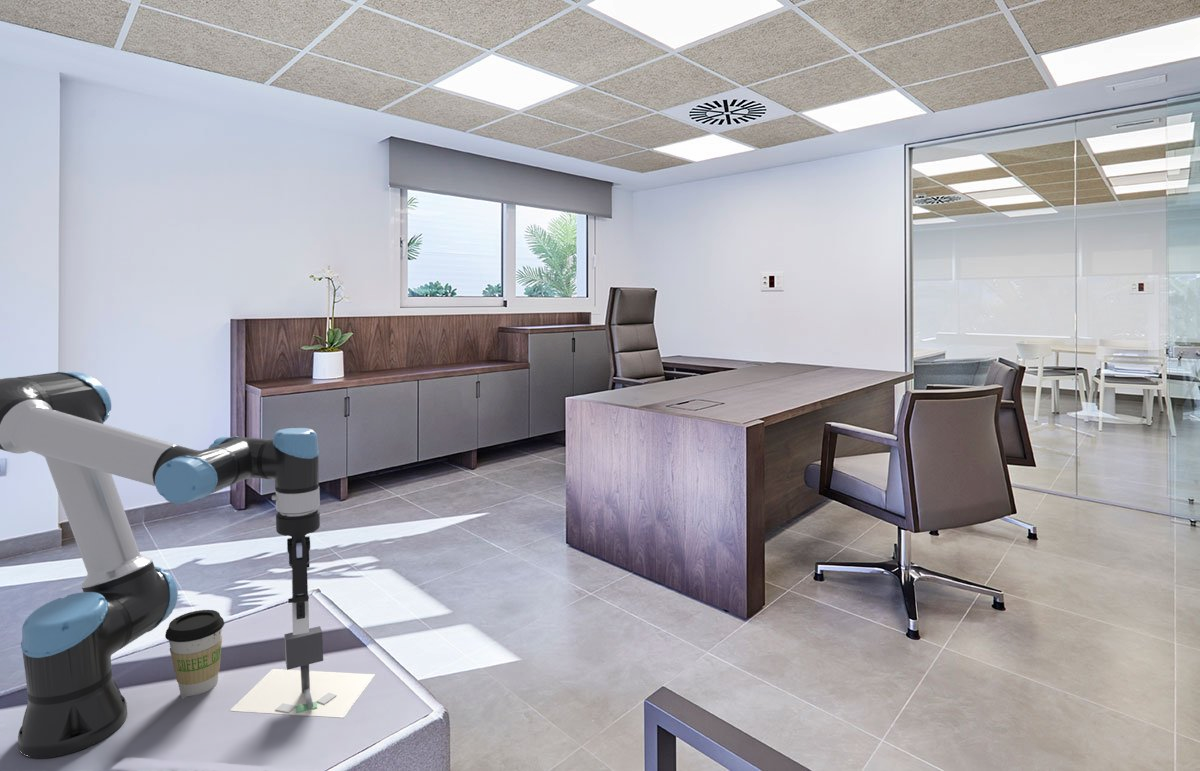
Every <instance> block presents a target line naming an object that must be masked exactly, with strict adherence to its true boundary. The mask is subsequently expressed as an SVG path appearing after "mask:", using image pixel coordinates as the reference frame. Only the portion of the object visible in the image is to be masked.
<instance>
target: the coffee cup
mask: <svg viewBox="0 0 1200 771" xmlns="http://www.w3.org/2000/svg"><path fill="white" fill-rule="evenodd" d="M224 626H225V621H224V618H223V617H222V616H221V614H220V612H219V611H217V610H214V609H201V610H194V611H190V612H187V613H186V612H185V613H183V614H181V615H178V616H176V617H175V618H174V619H172V620H171V621H170V622H169V624H168V627H167V629H166V631H165V635H164V636H165V639H166V640H168V643H169V651H170V656H171V661H172V666H173V669H174V674H175V679H176V682H177V685H178V687H179V688H178V689H179V693H180V698H181V699H182V700H185V698H187V697H189V696H197V695H202V694H205V693H207V692H208V691H211V690H212V689H214V688H215V687H216V686H217V685H218V682H219V672H220V668H221V654H222V642H223V636H222V629H223V628H224Z"/></svg>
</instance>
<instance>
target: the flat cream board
mask: <svg viewBox="0 0 1200 771" xmlns="http://www.w3.org/2000/svg"><path fill="white" fill-rule="evenodd" d="M375 676H376V674H375V673H373V674H372V673H356V672H355V673H353V672H340V671H339V672H338V671H337V672H335V671H320V670H319V671H318V670H317V671H316V670H309V677H310V694H311V698H312V702H313V708H309V709H308V707H307V703H306V698H305V694H304V693H302V688H301V669H289V670H287V669H284V668H283V669H282V668H281V669H280V668H272V669H271V670H270V671H269V672H267V674H266V675H265V676H264V677H262V678H261V679H260V680H259V681H258V682H257V683H256V684H255V685H254V686H253V687H252V688H251V689H250V690H249V691H248V692H247V693H246V694H245V695H244V696H242V698H241V699H240V700H239V701H238V702H237V703H236V704H235V705H233V707H231V709H230V710H229V712H238V713H239V712H240V713H253V714H257V713H258V714H272V715H275V714H276V715H288V716H289V715H291V716H292V715H293V716H308V717H324V718H340V719H344V717H345V716H346V715H347V714H348V712H349V711H350V710H351V708H353V706H354V704H355V703H356V702H357V701H358V699H359V697H360V696H361V695H362V693H363V692H364V691H365V689H366V688H367V686H368V685H369V684H370V683H371V681H372V680H373V679H374V677H375Z"/></svg>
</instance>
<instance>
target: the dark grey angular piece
mask: <svg viewBox="0 0 1200 771" xmlns="http://www.w3.org/2000/svg"><path fill="white" fill-rule="evenodd" d="M322 630H323V629H322V627H321V626H319V625H318V626H315V627H311V628H310V627H309V632H308V633H303V634H297V635H293V631H292V632H287V633H283V634H284V636H283V637H284V652H285V653H284V654H285V656H284V657H285V665H286V670H294V669H298V668H300V670H301V688H302V693H304V694H305V698H306V703H307V707H308V709H309V708H313V702H312V698H311V694H310V677H309V671H310V665H313V664H315V663H316V664H317V663H320V662H324V648H323V647H324V646H323V645H324V644H323V631H322Z"/></svg>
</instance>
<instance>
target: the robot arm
mask: <svg viewBox="0 0 1200 771" xmlns="http://www.w3.org/2000/svg"><path fill="white" fill-rule="evenodd" d="M110 411H112V398H111V396H110V394H109V392H108V390H107V389H106V387H105V386H104V385H103V384H102V383H101V382H100V381H99V380H97V378H94V377H93V376H90V375H89V374H87V373H83V372H77V371H67V372H66V371H57V372H49V373H43V374H42V373H41V374H33V375H27V376H26V375H25V376H18V377H17V376H16V377H6V378H5V377H4V378H0V450H2V451H6V452H9V453H12V454H20V455H21V454H26V453H28V452H32V453H35V454H37V455H40V456H42V457H43V458H44V459H45V461H46V465H47V467H48V469H49V472H50V475H51V478H52V480H53V483H54V485H55V488H56V491H57V493H58V497H59V499H60V502H61V504H62V507H63V510H64V512H65V516H66V517H67V521H68V524H69V527H70V529H71V531H72V535H73V537H74V540H75V543H76V545H77V546H76V547H77V548H78V551H79V554H80V556H81V560H82V561H83V564H84V567H85V569H86V572H87V575H86V577H85V579H84V580H83V582H82V583H81V585H80V587H81V589H82V592H76V593H71V594H68V595H67V596H65V597H62V598H61V597H58V598H56V599H52V600H51V601H49V602H47V603H45V604H43V605H42V606H40V607H38V608H36V609H35V610H34V611H32V612H31V613H30V614H29V615H28V616H27V618H26V619H25V620H24V622H23V624H22V627H21V628H22V629H21V637H22V638H21V642H20V648H21V652H22V657H23V664H24V665H23V666H24V675H25V681H26V691H27V692H26V693H27V705H26V708H25V711H24V716H23V719H22V724H21V727H20V728H19V731H18V734H17V744H18V750H20V751H21V752H22V753H23V754H25V755H28V756H30V757H29V758H31V757H37V758H36V759H48V758H56V757H61V756H65V755H69V754H73V753H77V752H79V751H81V750H84V749H86V748H88V747H91V746H93V745H95V744H98V743H99V742H101V741H103V740H104V739H106V738H108V737H109V736H111V735H112V734H114V733H115V732H116V731H117V730H118V729H119V728H121V727H122V725H123V724H124V723H125V721H126V720H127V717H128V705H127V704H128V703H127V701H126V699H125V697H124V695H122V693H121V690H120V688H119V687H118V685H117V683H116V681H115V680H114V678H113V668H112V655H113V654H116V652H118V651H120V650H122V649H123V648H125V647H126V646H128V645H129V644H131V643H132V642H134V641H136V640H137V639H139V638H141V637H143V636H144V635H145V634H147V633H149V632H151V631H153V630H154V629H156V628H157V627H158V626H160V624H161V623H163V622H164V621H166V620H167V619H168V618H169V617H170V616H171V614H172V613H173V611H174V610H175V608H176V606H177V604H178V603H177V602H178V598H179V597H178V595H179V590H178V585H177V583H176V580H175V578H174V577H173V576H172V574H171V573H169V572H166V569H164V568H162V567H159V566H155V564H154V562H153V559H152V558H150V557H146V556H144V555H142V554H141V553H140V551H139V547H138V545H137V544H138V543H137V542H136V538H135V536H134V533H133V530H132V527H131V525H130V522H129V519H128V517H127V513H126V511H125V508H124V505H123V503H122V500H121V497H120V494H119V491H118V488H117V485H116V484H115V480H114V477H113V475H115V476H117V477H121V478H123V479H124V478H125V479H129V480H131V481H135V482H139V483H143V484H145V485H146V484H147V485H150V486H153V487H155V489H156V491H157V493H158V494H159V495H160V496H162V497H163V498H164V499H165V501H166V502H168V503H172V504H176V505H184V504H188V503H190V502H195V501H196V502H197V501H200V500H202V499H204V498H206V497H208V496H210V495H212V494H214V493H216V492H219V491H221V490H223V489H225V488H228V487H230V486H233V485H235V484H237V483H240V482H243V481H245V480H247V479H260V480H261V479H262V480H274V489H275V494H273V495H272V496H271V500H272V501H275V510H276V511H277V513H276V514H275V526H276V527H275V531H276V533H278V535H282V536H284V537H285V536H288V537H290V538H287V539H286V543H287V544H286V545H287V547H286V548H287V549H286V550H287V551H286V552H287V553H288V564H289V566H290V568H291V594H292V596H291V598H287V599H288V600H287V602H288V604H291V605H292V606H291V607H292V608H291V611H292V614H291V615H292V632H293V635H297V634H303V633H308V632H309V629H310V610H309V599H310V595H309V593H308V592H309V591H308V589H309V588H308V587H309V586H308V583H309V582H308V568H310V550H311V538H310V537H311V536H310V535H309V534H313V533H315V532H316V531H317V530H319V528H321V516H320V514H321V513H320V509H319V508H320V506H321V501H320V499H321V496H320V494H321V493H320V492H321V491H320V481H319V468H320V467H319V465H320V464H319V457H320V450H319V441H318V434H317V432H316V431H314V429H311V428H306V427H296V428H295V427H291V428H289V427H288V428H281V429H278V430H277V431H275V432H274V434H273V438H259V437H244V436H239V435H234V436H221V437H218V438H216V439H215V440H214V441H213V442H212V443H211V444H210V445H209V446H208V448H205V449H202V450H197V449H193V448H189V447H186V446H181V445H178V444H175V443H172V442H167V441H164V440H162V439H157V438H154V437H151V436H147V435H144V434H140V433H136V432H133V431H129V430H126V429H122V428H119V427H118V428H117V427H115V426H110V425H107V424H104V423H105V422H106V421H107V420H108V419H109V417H110ZM20 751H19V752H20ZM21 752H20V753H21ZM23 754H22V755H23Z"/></svg>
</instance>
